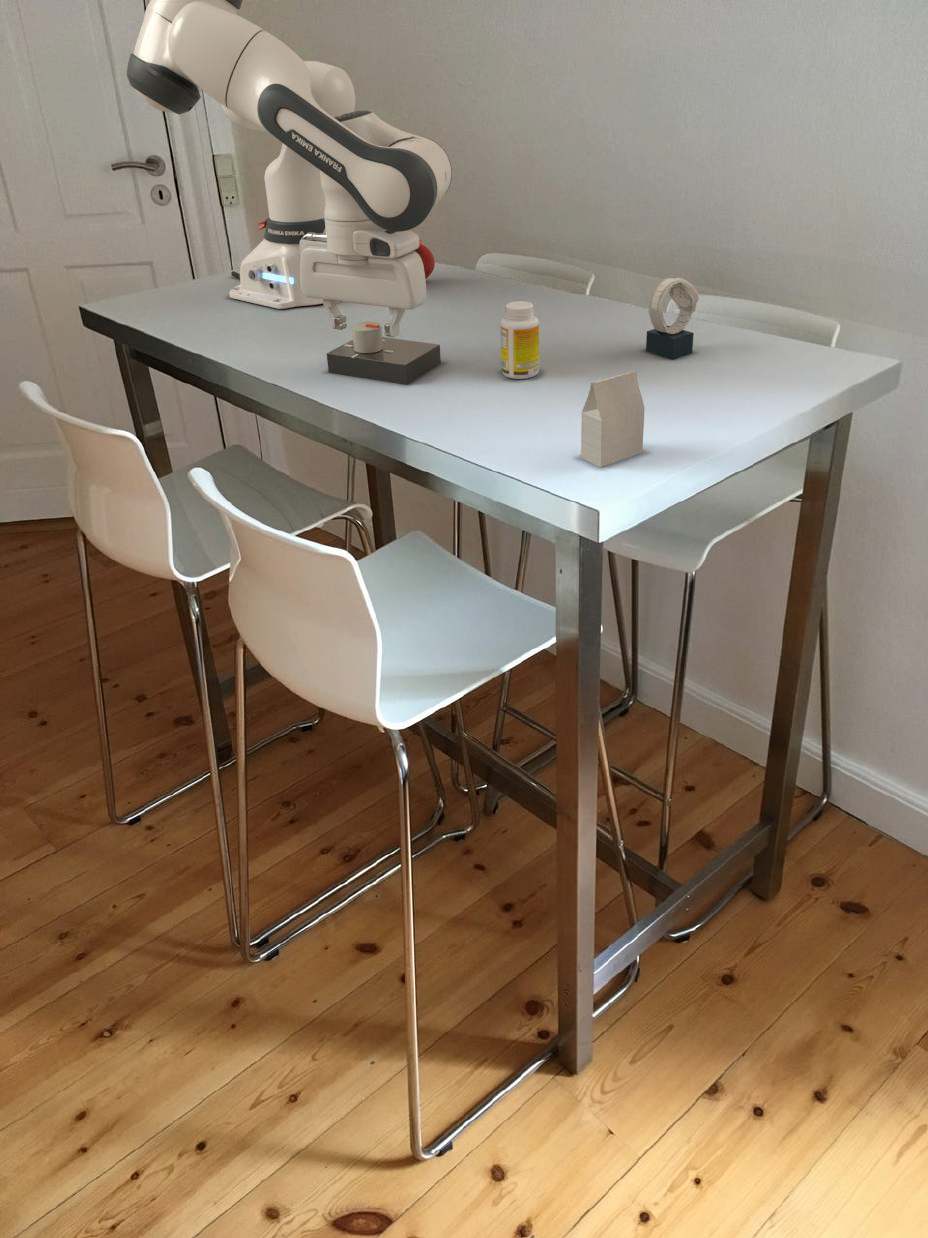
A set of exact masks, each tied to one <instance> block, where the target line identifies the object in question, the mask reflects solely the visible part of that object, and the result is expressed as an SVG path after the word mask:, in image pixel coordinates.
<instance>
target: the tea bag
mask: <svg viewBox="0 0 928 1238" xmlns="http://www.w3.org/2000/svg"><path fill="white" fill-rule="evenodd" d="M637 373H638V372H637V371H636V370H630V371H629V372H624V373H621V374H618V375H614V376H611V377H607V378H604V379H601V380H597V381H594V382H590V386H589V391H588V395H587V397H586V399H585V403H584V405H583V408H582V411H581V425H580V426H581V427H580V428H581V430H580V431H581V433H580V458H581V459H582V460H584V461H586V462H588V463H591V464H593V466H597V467H598V468H604V467H606V466H609V465H611V464H616V463H618V462H621V461H625V460H627V459H629V458H632V457H635V456H638V455H641V454H643V448H644V429H645V427H644V426H645V410H646V409H645V403H644V400H643V396H642V392H641V389H640V384H639V381H638V374H637Z"/></svg>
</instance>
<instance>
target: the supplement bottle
mask: <svg viewBox="0 0 928 1238" xmlns="http://www.w3.org/2000/svg"><path fill="white" fill-rule="evenodd" d="M504 313H505V316H504V317H502V319H500V325H499V328H500V358H501V359H500V360H501V362H500V364H501V373H502V374H503V375H504V377H506V378H509V379H513V380H525V379H530V378H533V377H535V376H537V375H538V373H539V372H540V326H539V325H540V322H539V318H538V317H537V316H535V315H534V304H533V303H532V302H529V301H525V300H524V301H523V300H519V301H510V302H507V304H505V311H504Z"/></svg>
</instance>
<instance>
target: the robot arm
mask: <svg viewBox="0 0 928 1238" xmlns="http://www.w3.org/2000/svg"><path fill="white" fill-rule="evenodd" d="M242 3H243V0H150V1H149V3H148V5H147V6H146V9H145V11H144V15H143V21H142V24H141V26H140V30H139V33H138V36H137V39H136V43H135V46H134V50H133V53H130V54H129V58H128V63H127V67H126V78H127V80H128V83H129V86H131V88H133V89H134V91H135V92H136V93H137V95H138V96H139V97H140V98H141V99H142V100H143V101H144V102H145V103H147V105H149V106H150V107H153V108H154V109H156V110H158V111H161V112H164V113H169V114H177V115H183V114H185V113H188V112H190V111H191V110H192V109H193V108H194V107H195V106H196V105H197V103H198V102H199V101H200V100H201V98H202V96H201V92H202V91H203V92H204V93H205V94H207V96H209V97H211V98H212V99H214V100H215V101H216V102H218V103H219V104H220V105H221V108H222V111H223V112H224V115H225V116H226V117H227V119H228V120H229V121H230V122H231V123H233V124H235V125H237V126H240V127H243V128H246V129H248V130H253V131H256V132H267V133H268V134H269V135H271V136H272V137H274V138H275V139H277V140H278V141H279V142H281V149H280V153H279V155H278V156H277V157H276V158H275V159H274V160H272V161H271V162H270V163H269V164H268V166H267V167H266V168H265V171H264V177H263V179H264V186H265V187H264V188H265V194H266V201H267V202H266V203H267V208H268V217H267V218H266V219H265V220H264V221H261V222H258V223H257V225H258V226H259V227H258V229H257V230H259V231H261V230H263V229H264V233H263V240H262V241H261V242H260V243H258V245H256V247H255V248H254V249H253V250H251V252H250V253H248V255H246V256H245V257H244V258H243V260H242V261H241V263H240V267H239V268H240V269H239V273H238V272H237V271H231V272H230V273H231V274H230V275H231V276H232V277H235V278H236V279H238V280H239V282H240V283H239V284H238V285H236V286H233V288H231V289H230V290H229V293H228V295H229V299H234V300H238V301H243V302H247V303H250V304H251V303H252V304H255V305H261V306H265V307H269V308H273V309H277V310H284V309H290V308H295V307H305V306H306V307H307V306H315V305H322V304H323V305H322V306H323V308H324V309H325V311H326V312H327V314H328V316H329V318H330V319H331V327H332V329H333V330H339V331H342V330H345V329H346V328H347V327H348V326H347V325H348V324H347V322H346V321H347V316H346V315H343V314H342V312H341V311H340V309H339V307H338V304H339V303H340V302H343V303H351V304H360V305H366V306H375V307H376V306H377V307H383V308H388V313H389V315H391V319H390V321H389V322H387V323H385V324H384V325H383V328H384V336H385V337H388V338H396V337H398V336H399V335H400V322H401V321H402V319H403V316H404V315H405V312H406V310H407V311H408V310H409V311H412V310H414V309H417V308H419V307H420V306H422V305H423V303H425V301H426V299H427V281H426V280H427V279H425V272H424V266H423V262H422V259H421V257H420V256H419V254H418V253H416V252H415V251H414V250H416V249H417V248H418V247H419V239H420V236H419V234H417V233H415V232H413V231H411V230H413V229H415V228H416V227H418V226H420V225H421V224H422V223H423V222H424V221H425V220H426V219H427V217H428V216H429V215H430V212H431V211H432V210H433V209H434V208H435V207H436V206H437V205H438V203H439V202H440V201H441V200H443V198H444V197H445V195H446V194H447V193H448V191H449V189H450V186H451V183H452V179H453V169H452V162H451V161H450V158H449V155H448V154H447V152H446V151H445V150H444V148H443V147H442V146H441V144H439V143H438V142H437V141H436V140H433V139H431V138H429V137H425V136H420V135H416V134H414V133H410V132H407V131H404V130H401V129H399V128H397V127H395V126H393V125H391V124H389V123H387V122H386V121H384V120H382V119H381V118H380V117H379V116H378V115H377V114H375V113H374V112H373V111H370V110H355V108H356V91H355V88H354V84H353V82H352V79H351V78H350V76H349V74H348V73H347V72H346V71H345V70H344V69H343V68H340V67H338V66H335V65H332V64H329V63H325V62H321V61H317V60H303V59H302V58H301V57H300V56H299V55H298V54H297V53H296V52H295V51H294V50H292V49H291V47H289V46H288V45H287V44H286V43H284V42H283V41H281V40H280V39H279V38H277V36H275V35H272V34H271V33H270V32H268V31H266V30H265V29H263V28H261V27H260V26H258V25H257V24H256V23H254V22H252V21H250V20H247V19H246V18H244V17H242V16H241V15H238V14H237V12H238V10H241V7H242ZM260 225H261V226H260Z"/></svg>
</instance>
